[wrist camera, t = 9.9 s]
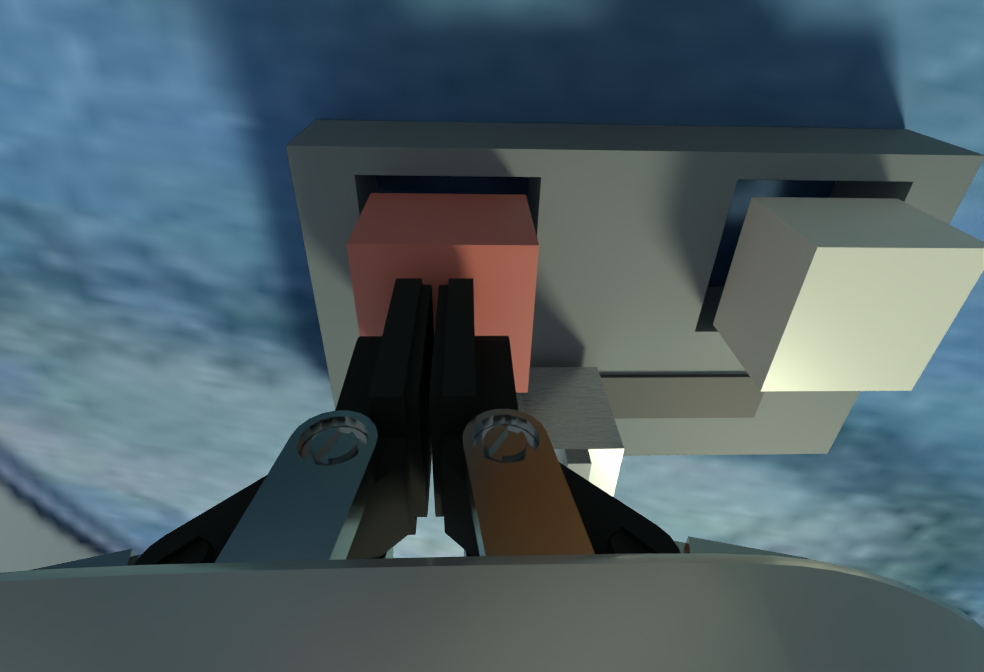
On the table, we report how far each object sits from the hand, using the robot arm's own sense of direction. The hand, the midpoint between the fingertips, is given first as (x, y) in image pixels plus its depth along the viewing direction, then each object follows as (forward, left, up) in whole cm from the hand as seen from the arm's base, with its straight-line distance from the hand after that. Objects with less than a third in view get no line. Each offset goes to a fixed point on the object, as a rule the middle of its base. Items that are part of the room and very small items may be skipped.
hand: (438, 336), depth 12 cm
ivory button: (0, +10, -4) cm, 11 cm away
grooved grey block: (+5, +3, -3) cm, 7 cm away
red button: (0, 0, -4) cm, 4 cm away
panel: (+2, +5, -7) cm, 9 cm away
